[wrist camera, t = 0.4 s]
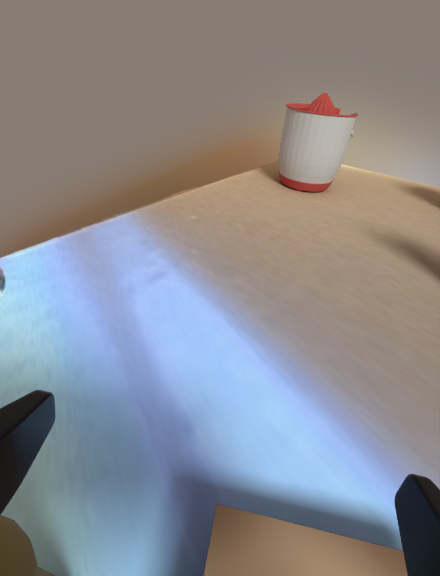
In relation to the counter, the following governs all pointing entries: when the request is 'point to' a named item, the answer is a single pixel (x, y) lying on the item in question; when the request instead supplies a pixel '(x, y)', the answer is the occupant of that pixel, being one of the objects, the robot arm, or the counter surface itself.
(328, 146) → the citrus juicer
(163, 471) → the counter surface
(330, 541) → the shelf board
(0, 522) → the cork
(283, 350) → the counter surface
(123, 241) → the counter surface
